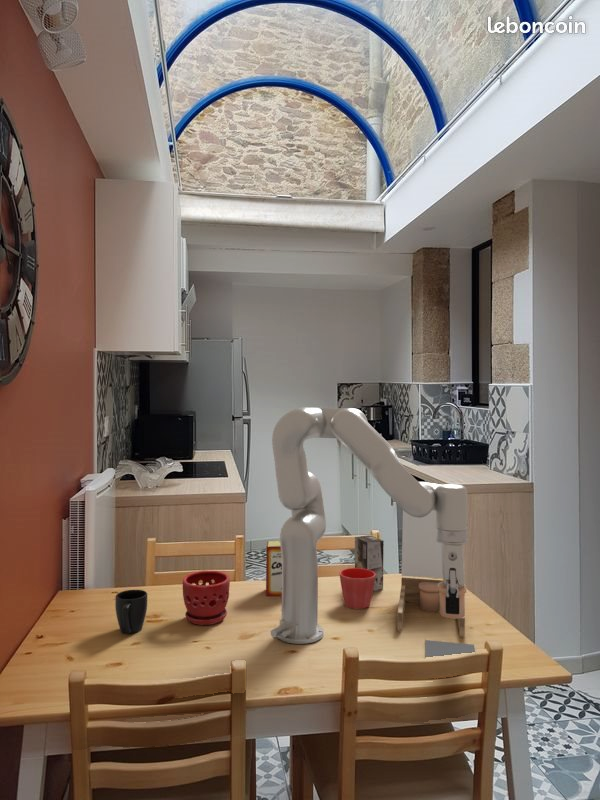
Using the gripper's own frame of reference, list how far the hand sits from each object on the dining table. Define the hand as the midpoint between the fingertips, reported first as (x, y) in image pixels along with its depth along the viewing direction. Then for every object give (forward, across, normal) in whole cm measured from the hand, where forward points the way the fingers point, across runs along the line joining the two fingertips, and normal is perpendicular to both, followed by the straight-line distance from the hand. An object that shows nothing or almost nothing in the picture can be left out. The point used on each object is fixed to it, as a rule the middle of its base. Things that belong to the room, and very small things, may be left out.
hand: (451, 607), depth 142 cm
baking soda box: (+11, +34, +52) cm, 63 cm away
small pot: (+2, 0, 0) cm, 2 cm away
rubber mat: (+11, 0, 0) cm, 11 cm away
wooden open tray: (+11, +23, +5) cm, 26 cm away
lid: (-8, +40, +5) cm, 41 cm away
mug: (+11, -7, +83) cm, 84 cm away
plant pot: (+11, +7, +67) cm, 68 cm away
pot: (+11, +31, +5) cm, 33 cm away
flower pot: (+11, +29, +27) cm, 41 cm away
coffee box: (+11, +47, +25) cm, 54 cm away
